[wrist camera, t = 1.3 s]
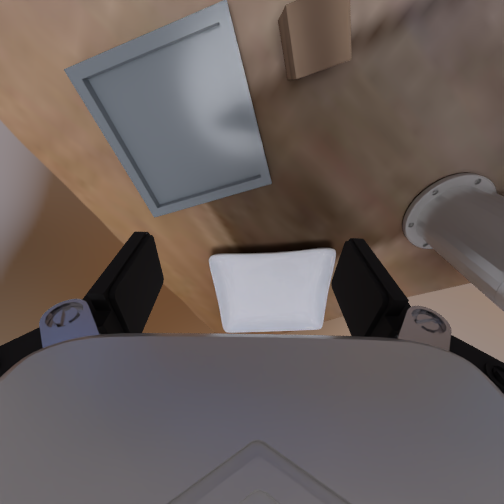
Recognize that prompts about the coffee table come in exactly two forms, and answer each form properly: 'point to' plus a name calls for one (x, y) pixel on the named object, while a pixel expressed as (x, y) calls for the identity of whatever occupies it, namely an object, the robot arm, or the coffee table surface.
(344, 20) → the walnut block
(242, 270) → the salad plate
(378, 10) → the coffee table surface
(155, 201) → the slate dish
